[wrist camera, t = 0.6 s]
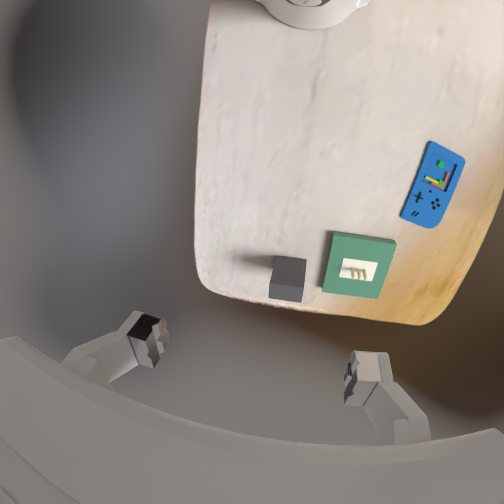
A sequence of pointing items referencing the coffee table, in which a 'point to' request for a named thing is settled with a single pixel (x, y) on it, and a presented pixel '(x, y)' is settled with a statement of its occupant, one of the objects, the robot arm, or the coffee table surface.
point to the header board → (357, 265)
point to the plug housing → (287, 279)
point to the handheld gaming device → (433, 186)
